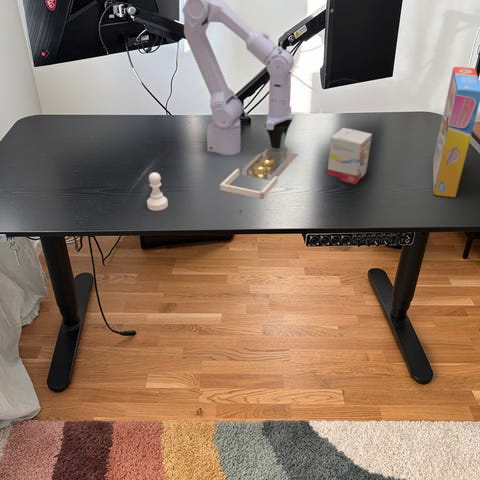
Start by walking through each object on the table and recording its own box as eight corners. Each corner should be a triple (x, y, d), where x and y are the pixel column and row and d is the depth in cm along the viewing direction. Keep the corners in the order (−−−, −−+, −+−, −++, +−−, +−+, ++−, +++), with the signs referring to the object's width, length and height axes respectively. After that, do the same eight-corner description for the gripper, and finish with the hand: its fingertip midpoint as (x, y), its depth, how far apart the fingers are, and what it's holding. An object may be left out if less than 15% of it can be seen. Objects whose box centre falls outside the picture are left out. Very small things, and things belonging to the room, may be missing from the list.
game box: (455, 198, 130) (482, 91, 115) (432, 195, 132) (456, 89, 117) (452, 165, 147) (476, 67, 132) (432, 162, 148) (453, 65, 133)
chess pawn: (171, 207, 127) (168, 174, 122) (152, 213, 125) (148, 179, 120) (162, 199, 131) (159, 166, 126) (144, 204, 129) (140, 171, 124)
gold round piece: (250, 175, 139) (250, 167, 138) (256, 169, 142) (256, 161, 141) (264, 178, 138) (264, 170, 137) (270, 172, 141) (270, 164, 140)
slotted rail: (239, 177, 141) (239, 168, 139) (266, 151, 155) (266, 143, 154) (274, 184, 137) (274, 175, 136) (298, 157, 152) (298, 148, 150)
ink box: (355, 185, 137) (361, 143, 130) (325, 177, 141) (329, 136, 134) (367, 172, 143) (373, 132, 136) (338, 165, 147) (342, 126, 140)
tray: (220, 193, 133) (219, 184, 132) (236, 177, 141) (236, 168, 140) (262, 202, 129) (262, 193, 128) (277, 185, 137) (277, 176, 136)
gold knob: (258, 169, 143) (258, 161, 141) (261, 163, 146) (261, 155, 145) (272, 170, 142) (272, 162, 140) (275, 165, 145) (275, 157, 144)
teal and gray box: (266, 159, 148) (266, 135, 145) (271, 153, 152) (272, 130, 148) (281, 161, 147) (282, 138, 143) (286, 155, 150) (287, 132, 146)
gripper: (284, 108, 134) (281, 157, 141) (302, 92, 145) (299, 138, 152) (258, 105, 136) (258, 153, 144) (278, 89, 147) (277, 135, 155)
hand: (277, 145), depth 148 cm, fingers closed on teal and gray box, 3 cm apart
